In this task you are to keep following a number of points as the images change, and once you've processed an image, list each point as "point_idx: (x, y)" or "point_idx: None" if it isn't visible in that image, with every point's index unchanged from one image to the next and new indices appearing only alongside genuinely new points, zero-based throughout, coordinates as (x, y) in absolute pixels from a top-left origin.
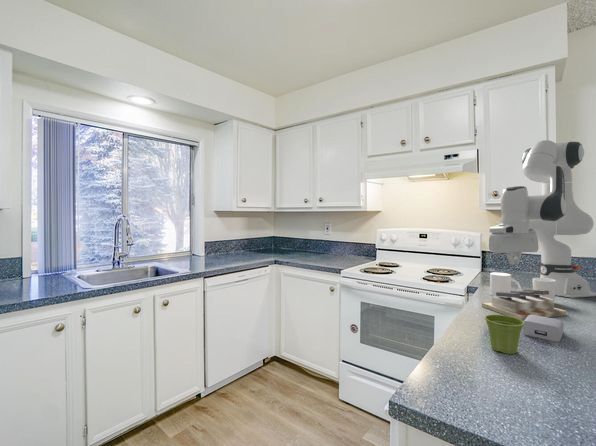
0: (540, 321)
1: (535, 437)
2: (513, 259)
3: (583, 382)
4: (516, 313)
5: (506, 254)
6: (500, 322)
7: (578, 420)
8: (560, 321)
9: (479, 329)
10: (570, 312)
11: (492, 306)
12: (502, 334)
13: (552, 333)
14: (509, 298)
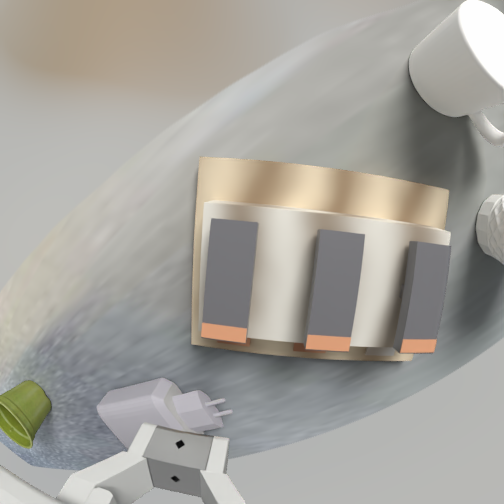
0: (128, 433)
1: (5, 444)
2: (139, 487)
3: (76, 466)
4: None
5: (68, 481)
6: (18, 407)
7: (35, 462)
8: None
9: (42, 324)
10: (444, 339)
11: (197, 216)
12: (11, 416)
13: None
14: None
